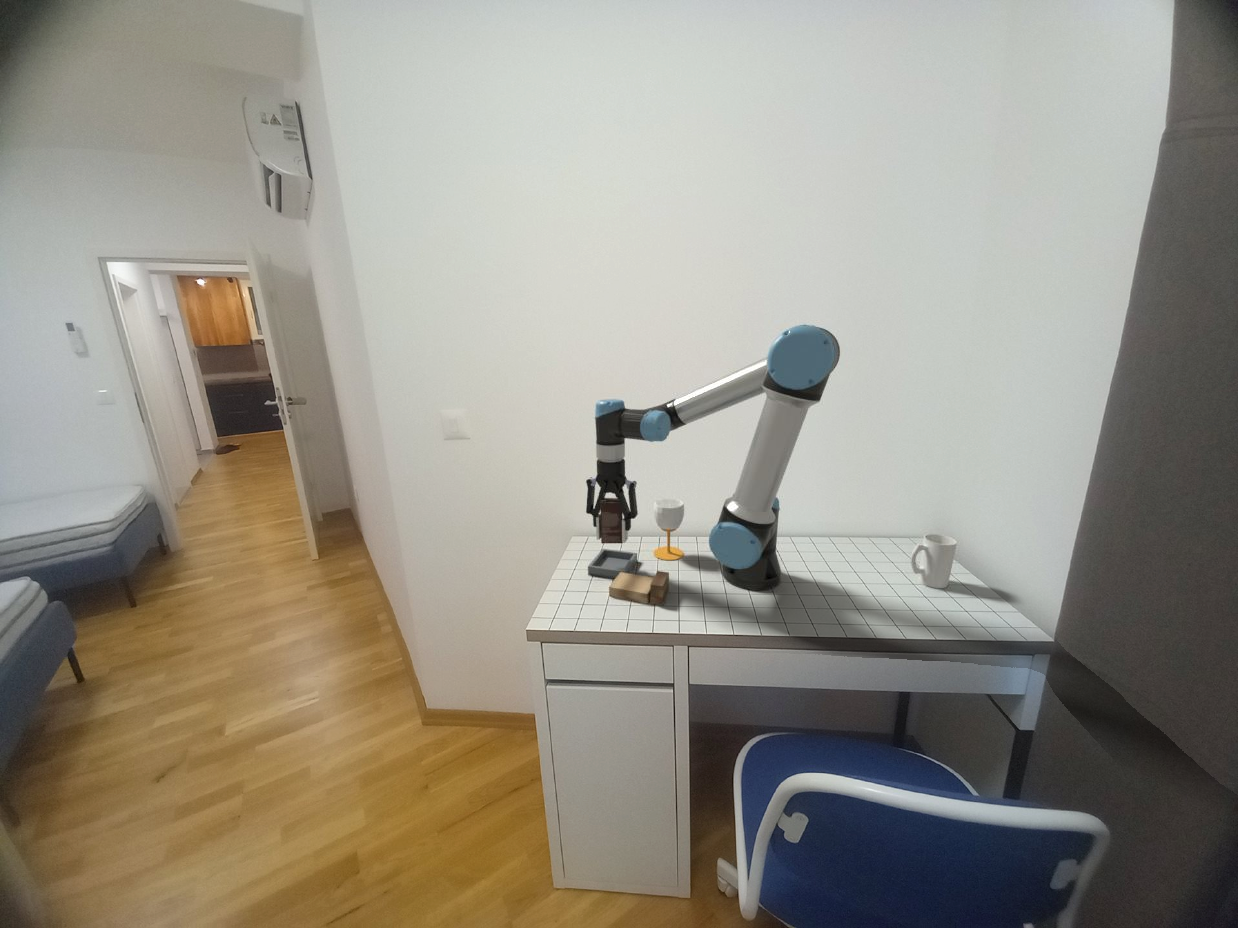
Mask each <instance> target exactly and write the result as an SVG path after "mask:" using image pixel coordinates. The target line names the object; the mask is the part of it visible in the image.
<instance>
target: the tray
mask: <svg viewBox="0 0 1238 928" xmlns="http://www.w3.org/2000/svg"><path fill="white" fill-rule="evenodd" d="M637 562H638V552H632V551H626V550H625V551H623V550H618V549H617V550H616V549H608V548H602V549H601V550H600V551H599V552H598V554H597V555H596V556H595V557H593V560H592V561H590V563H589V564H588V565H587V575H588V576H593V577H594V576H595V577H601V578H607V579H613V580H615V578H616V577H617V576H618V575H619V573H620V572H623V573H629V574H631V572H632V569H634V567H635V566H636V563H637Z"/></svg>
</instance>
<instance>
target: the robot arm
mask: <svg viewBox="0 0 1238 928" xmlns="http://www.w3.org/2000/svg"><path fill="white" fill-rule="evenodd" d="M840 347H841V346H840V344H839V341H838V340H837V337H835V335H834V334H833V333H831V331H829V330H827V329H826V328H823V327H819V326H817V325H813V324H812V325H810V324H799V325H795V326H793V327H790V328H788V329H786V330H784V331H783V332H781V333H780V334H779V335H778V336H777V337H776V338H775V339H774V341H773V342H772V343H771V344H770V347H769V349H768V353H767V356H766V357H764V358H761V359H759V360H757V361H755V362H752V363H749V364H748V365H745V366H744V367H741V368H740V369H737V370H735V371H733V372H731V373H729V374H725V375H724V376H722V377H720V378H717V379H715V380H714V381H713V380H712V381H711V382H708V383H706V384H704V385H702V386H700V387H697V388H696V389H693V390H691V391H689V392H686V393H684V394H682V395H680V396H678V397H676V398H673V399H671V400H669V401H667V402H664V403H663V404H660V405H657V406H656V405H655V406H652V407H649V408H646V409H637V408H636V409H633V408H626V406H625V402H624V400H622V399H616V398H613V399H612V398H611V399H608V398H607V399H600V400H598V401H597V402H596V403H595V413H594V414H595V415H594V419H595V420H594V421H595V435H596V436H595V438H596V440H595V442H596V443H595V445H596V446H595V448H596V449H595V452H596V477H589V478H587V479H586V481H585V483H586V486H587V497H586V508H585V514H587V515H591V516H592V521H593V523H592V526H593V528H596V540H598V541H599V540H601V510H600V502H601V501H602V500H603V499H604V498H606V495H607V494H609V493H611V494H614V495H615V498H617V499H618V502H619V504H620V507H621V510H622V516H623V520H622V543H621V544H625V543H626V542H627V541H628V539H629V537H628V534H629V531H630V530H631V528H632V519H636V517H637V516H638V515H639V513H638V504H637V495H636V487H637V481H636V480H628V479H627V477H626V460H625V459H624V458H625V456H626V455H625V454H626V452H625V451H626V450H625V449H626V443H625V442H626V441H625V440H626V439H629V440H638V441H646V442H649V443H650V442H651V443H654V442H664V441H665V440H666V439H667V438H668V437H669V435H670V432H672V431H675V430H677V429H679V428H681V427H683V426H686V425H688V424H691V423H693V422H695V421H697V420H700V419H703V418H705V417H708V416H710V415H713V414H715V413H717V412H720V411H722V410H725V409H728V408H730V407H732V406H735V405H737V404H741V403H743V402H744V401H747V400H749V399H752V398H755V397H757V396H759V395H762V394H765V395H766V397H765V400H764V404H763V407H762V410H761V412H760V413H761V414H760V416H759V418H758V422H757V425H756V428H755V430H754V433H753V437H752V439H751V443H750V446H749V449H748V452H747V456H746V458H745V461H744V464H743V467H742V470H741V473H740V476H739V480H738V482H737V485H736V489H735V492H734V493H733V494H732V496H731V497H728V498H726V499H725V501H724V503H723V506H722V509H721V512H720V516H719V518H718V521H717V523H716V525H714V526H713V528H711V531H710V534H709V535H708V536H709V537H708V546H709V550H710V551H711V553H712V554H713V556H714V558H715V559H716V560H717V561H718V562H720V564H722V567H721V568H722V569H721V570H722V571H721V575H722V577H723V578H724V580H725V581H727V582H728V583H729V584H731V585H733V586H736V587H739V588H741V589H746V590H753V591H764V590H770V589H773V588H775V587H777V586H778V585H780V583H781V581H782V569H781V566H780V562H779V558H778V555H777V542H778V541H777V539H778V527H779V526H778V524H779V512H780V511H781V508H780V500H779V498H778V497H777V494H778V492H779V489H780V487H781V484H782V482H783V478H784V476H785V473H786V470H787V467H788V465H789V462H790V459H791V457H792V454H793V451H794V449H795V446H796V443H797V441H798V438H799V435H800V432H801V430H802V427H803V425H804V422H805V419H806V416H807V414H808V411H809V408H811V406H815V405H816V404H819V403H820V402H821V400H822V397H823V394H824V391H825V389H826V385H827V384H828V381H829V378H830V376H831V374H832V372H833V371H835V368H836V367H837V366H838V363H839V361H840V357H841V349H840ZM596 485H598V486H599V487H600V489H599V493H598V496H597V499H596V502H595V493H596V491H595V490H596ZM624 486H626V488H627V490H628V501H627V498H626V496H625V491H624ZM628 502H629V504H628Z"/></svg>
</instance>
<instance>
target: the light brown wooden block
mask: <svg viewBox="0 0 1238 928" xmlns="http://www.w3.org/2000/svg"><path fill="white" fill-rule="evenodd" d="M653 578H654V576H652V577H651V576H645V575H640V574H636V573H635V574H634V573H623V572H620V573H619V575H618V576H617V577H616V578H615V579H613V581H612V582H611V583H610V585H609V586H608V595H609V597H613V598H616V599H622V600H627V601H633V602H636V603H637V602H638V603H642V604H649V601H650V584H651V582H652V580H653Z"/></svg>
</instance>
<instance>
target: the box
mask: <svg viewBox="0 0 1238 928" xmlns="http://www.w3.org/2000/svg"><path fill="white" fill-rule="evenodd" d="M600 514H601V538H600V541H601V544H623V543H622V520H623V518H624V515H623V513H622V510H621V507H620V504H619V502H618V499H617V497H605V498H604V499H603V500H602V501H601V502H600Z"/></svg>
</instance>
